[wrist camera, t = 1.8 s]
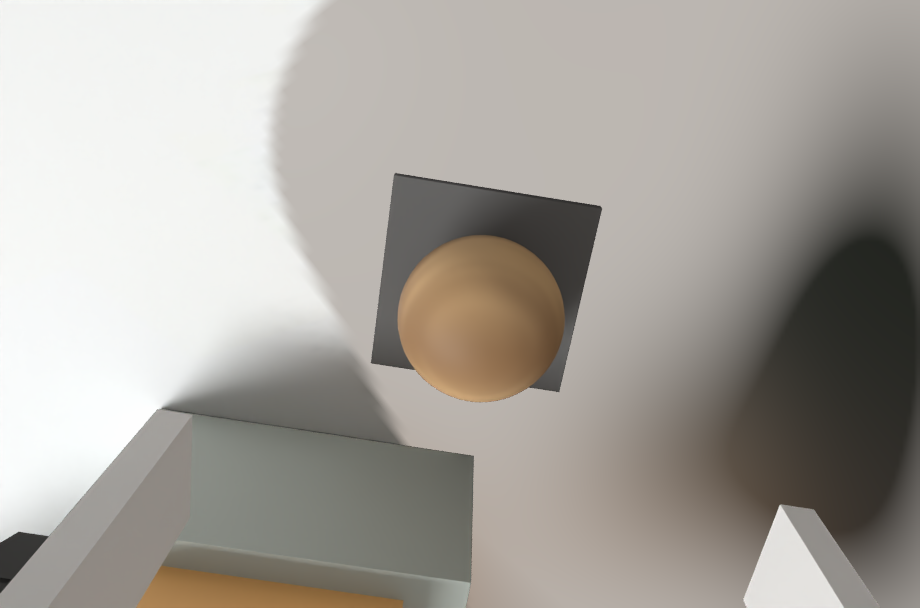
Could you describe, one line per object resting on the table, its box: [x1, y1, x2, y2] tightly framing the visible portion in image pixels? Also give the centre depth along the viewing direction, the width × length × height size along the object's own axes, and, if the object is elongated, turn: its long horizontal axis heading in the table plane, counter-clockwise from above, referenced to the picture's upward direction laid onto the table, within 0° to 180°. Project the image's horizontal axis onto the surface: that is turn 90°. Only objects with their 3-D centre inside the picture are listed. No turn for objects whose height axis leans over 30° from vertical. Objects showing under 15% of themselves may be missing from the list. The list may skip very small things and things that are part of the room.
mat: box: [371, 173, 602, 392], centre depth 29 cm, size 8×8×1 cm
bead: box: [397, 235, 565, 402], centre depth 26 cm, size 6×6×6 cm
